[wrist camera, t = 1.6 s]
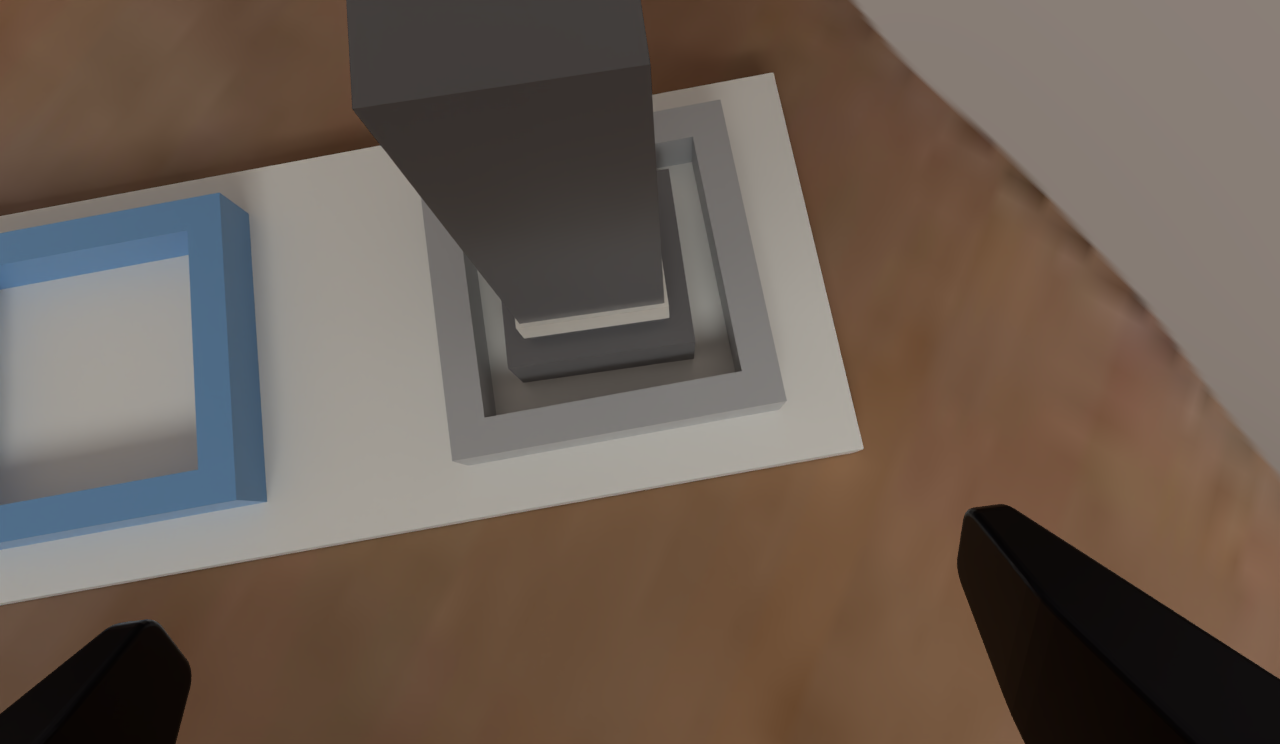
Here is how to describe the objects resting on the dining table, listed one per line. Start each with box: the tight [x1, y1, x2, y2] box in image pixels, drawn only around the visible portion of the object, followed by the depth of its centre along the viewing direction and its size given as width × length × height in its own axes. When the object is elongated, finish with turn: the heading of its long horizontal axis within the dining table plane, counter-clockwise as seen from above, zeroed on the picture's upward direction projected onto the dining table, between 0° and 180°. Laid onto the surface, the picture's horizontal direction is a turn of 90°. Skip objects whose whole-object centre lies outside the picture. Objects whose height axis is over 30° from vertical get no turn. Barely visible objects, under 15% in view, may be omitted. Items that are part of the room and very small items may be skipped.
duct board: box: [0, 73, 864, 605], centre depth 22 cm, size 28×12×2 cm, turn 100°
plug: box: [346, 0, 695, 383], centre depth 15 cm, size 5×5×13 cm
